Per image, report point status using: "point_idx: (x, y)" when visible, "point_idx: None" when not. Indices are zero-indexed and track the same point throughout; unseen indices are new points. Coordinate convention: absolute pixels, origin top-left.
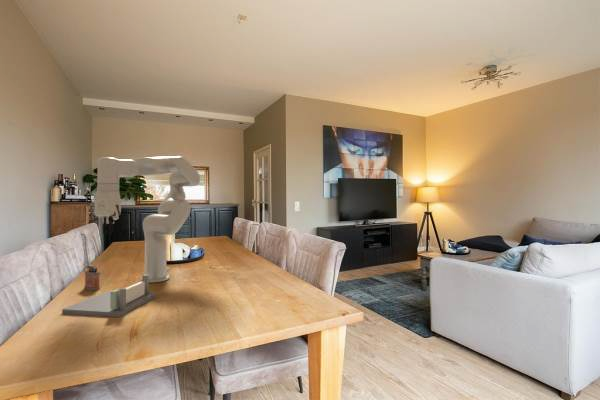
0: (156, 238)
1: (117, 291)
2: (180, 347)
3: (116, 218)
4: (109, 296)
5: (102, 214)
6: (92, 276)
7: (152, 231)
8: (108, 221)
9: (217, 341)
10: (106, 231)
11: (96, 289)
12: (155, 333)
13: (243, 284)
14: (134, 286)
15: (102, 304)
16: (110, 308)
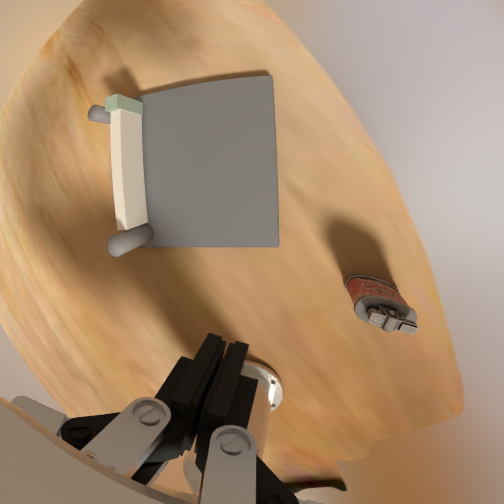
0: (192, 478)
1: (105, 104)
2: (24, 78)
3: (20, 401)
4: (227, 193)
5: (107, 497)
6: (371, 293)
7: (193, 500)
8: (121, 416)
9: (4, 109)
10: (202, 350)
11: (348, 278)
12: (50, 86)
13: (54, 342)
14: (113, 179)
15: (193, 129)
16: (141, 102)
